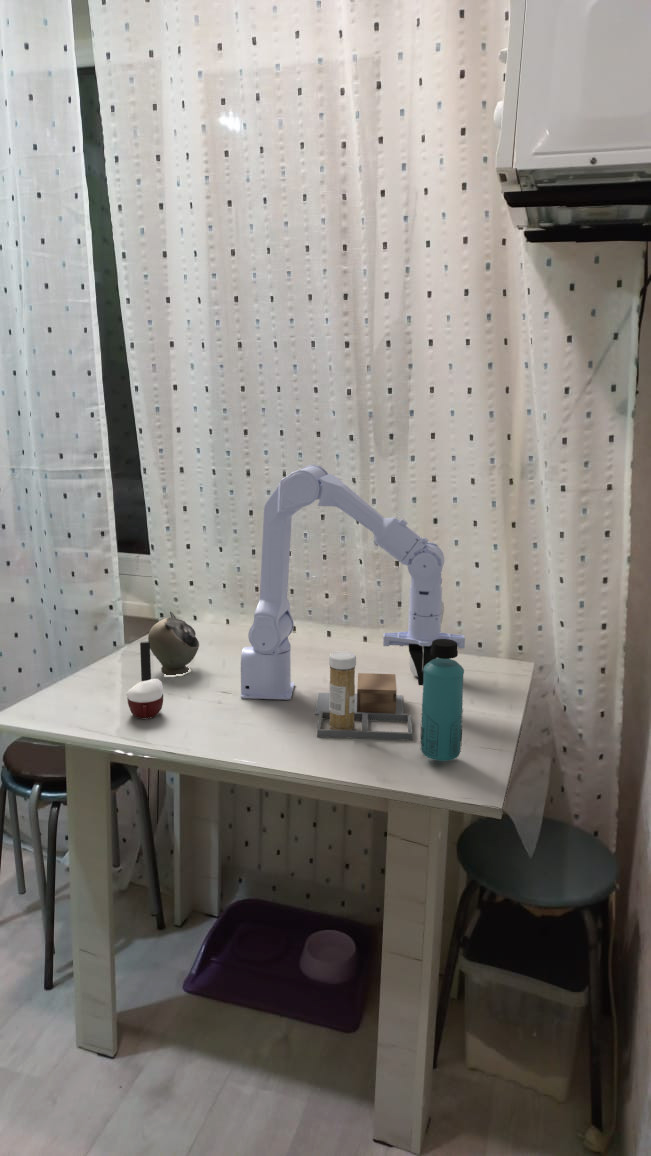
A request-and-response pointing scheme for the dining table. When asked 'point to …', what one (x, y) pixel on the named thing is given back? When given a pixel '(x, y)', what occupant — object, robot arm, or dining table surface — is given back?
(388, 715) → the socket frames
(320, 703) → the board
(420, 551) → the robot arm
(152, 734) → the dining table surface
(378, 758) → the dining table surface
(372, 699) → the cardboard box
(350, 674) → the spice jar
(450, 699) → the beverage bottle
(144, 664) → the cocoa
